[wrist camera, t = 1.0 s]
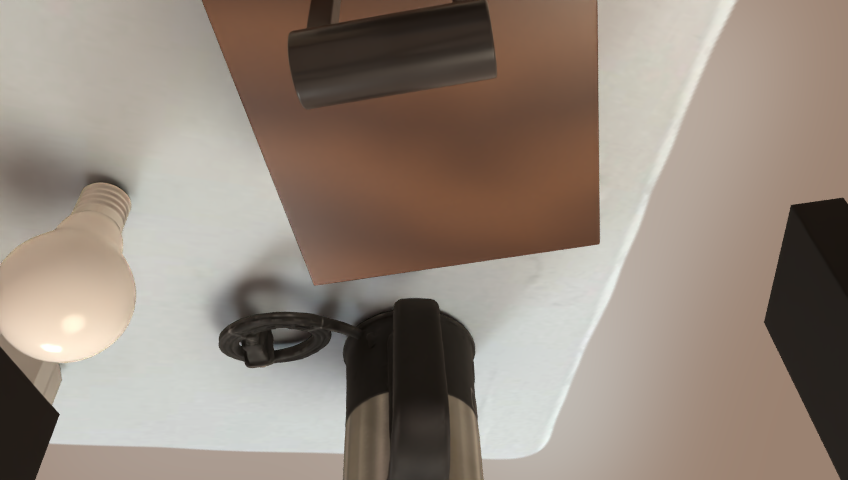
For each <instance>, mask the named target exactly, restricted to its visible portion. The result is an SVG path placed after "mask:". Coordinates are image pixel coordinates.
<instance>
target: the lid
mask: <svg viewBox="0 0 848 480" xmlns="http://www.w3.org/2000/svg"><path fill="white" fill-rule="evenodd" d="M202 2H203V5H204V7H205V10H206V12H207V15H208V18H209V20H210V23H211V25H212V28H213V30H214V33H215V35H216V38H217V40H218V43H219V45H220V48H221V51H222V53H223V56H224V58H225V61H226V63H227V66H228V68H229V71H230V73H231V76H232V78H233V81H234V83H235V86H236V89H237V91H238V94H239V96H240V99H241V101H242V104H243V106H244V109H245V111H246V114H247V116H248V119H249V121H250V124H251V127H252V129H253V132H254V134H255V137H256V139H257V142H258V144H259V147H260V149H261V152H262V154H263V157H264V160H265V162H266V165H267V167H268V170H269V172H270V175H271V177H272V180H273V182H274V185H275V187H276V190H277V192H278V195H279V198H280V200H281V203H282V205H283V208H284V210H285V213H286V215H287V218H288V220H289V223H290V225H291V228H292V230H293V233H294V236H295V238H296V241H297V243H298V246H299V248H300V251H301V253H302V256H303V258H304V261H305V263H306V266H307V268H308V271H309V274H310V276H311V279H312V281H313V284H314V285H315V286H316V285H323V284H329V283H336V282H343V281H350V280H357V279H364V278H371V277H378V276H384V275H391V274H398V273H405V272H412V271H419V270H426V269H432V268H439V267H446V266H453V265H460V264H467V263H474V262H481V261H487V260H494V259H501V258H508V257H515V256H522V255H529V254H536V253H542V252H549V251H556V250H563V249H570V248H577V247H584V246H591V245H597V244H599V243H600V214H599V114H598V14H597V0H202Z"/></svg>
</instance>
